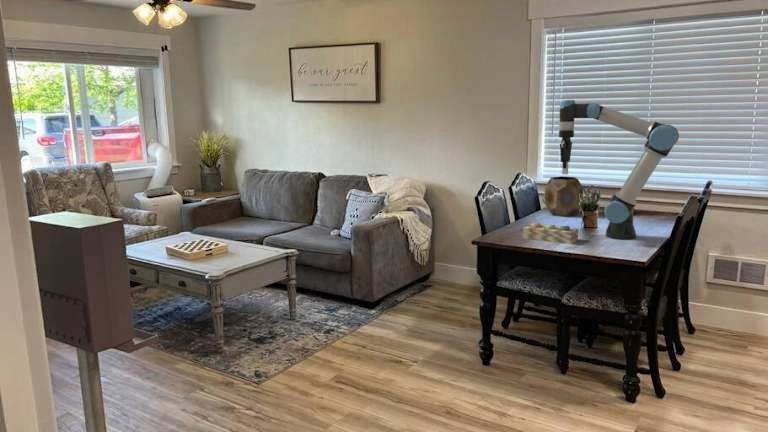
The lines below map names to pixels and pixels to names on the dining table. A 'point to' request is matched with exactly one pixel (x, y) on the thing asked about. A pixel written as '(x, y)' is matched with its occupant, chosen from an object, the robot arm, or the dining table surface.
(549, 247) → the dining table surface
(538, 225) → the button terracotta
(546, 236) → the beige woven box
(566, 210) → the brown dodecahedron
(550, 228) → the button sage
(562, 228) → the button charcoal
